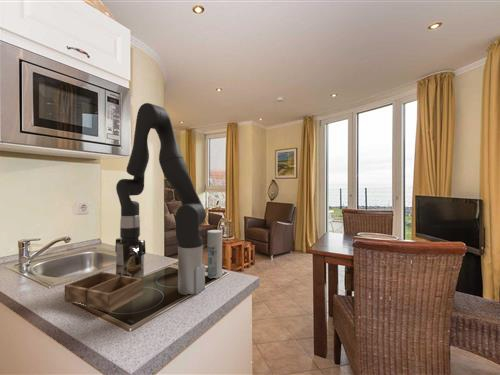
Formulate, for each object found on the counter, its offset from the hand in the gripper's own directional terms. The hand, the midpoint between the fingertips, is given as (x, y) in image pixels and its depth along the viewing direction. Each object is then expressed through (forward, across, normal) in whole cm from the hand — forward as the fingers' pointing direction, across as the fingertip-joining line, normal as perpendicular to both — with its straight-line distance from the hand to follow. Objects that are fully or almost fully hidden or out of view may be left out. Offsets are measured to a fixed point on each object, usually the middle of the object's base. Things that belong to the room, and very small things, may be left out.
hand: (130, 263), depth 104 cm
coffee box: (+7, 0, 0) cm, 7 cm away
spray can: (+7, -32, -16) cm, 36 cm away
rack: (+7, -5, +16) cm, 18 cm away
